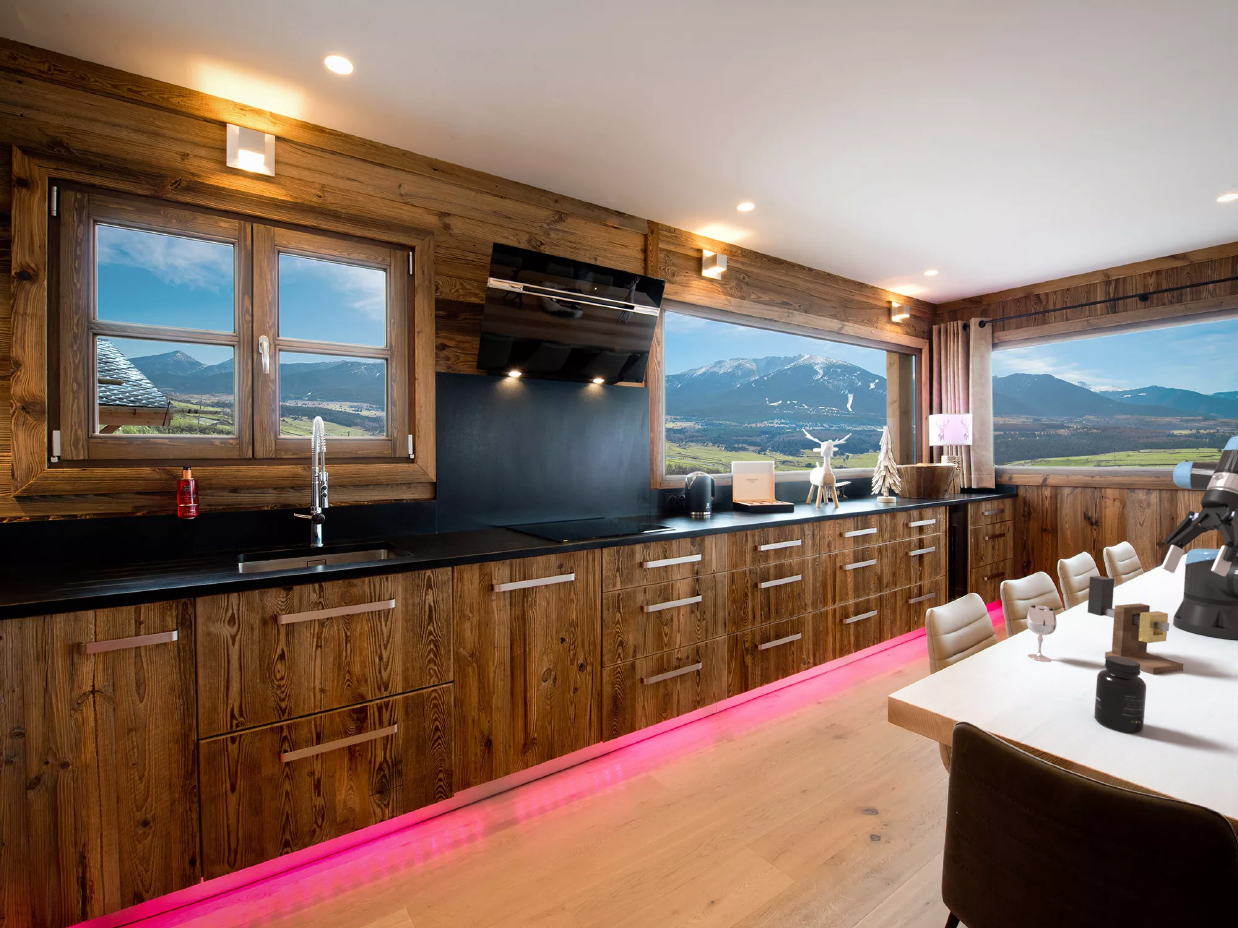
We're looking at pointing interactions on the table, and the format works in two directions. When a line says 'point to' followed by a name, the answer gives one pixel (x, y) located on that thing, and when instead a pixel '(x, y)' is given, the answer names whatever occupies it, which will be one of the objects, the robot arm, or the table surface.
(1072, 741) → the table surface
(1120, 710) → the supplement bottle
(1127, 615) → the bearing frame
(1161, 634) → the block
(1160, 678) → the table surface
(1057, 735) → the table surface
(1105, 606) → the grey hammer
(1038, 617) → the wineglass
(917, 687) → the table surface
